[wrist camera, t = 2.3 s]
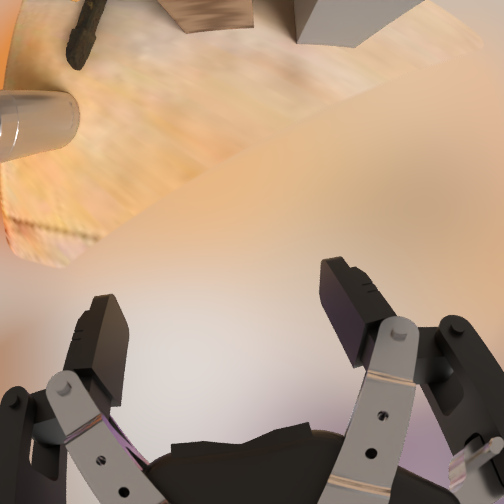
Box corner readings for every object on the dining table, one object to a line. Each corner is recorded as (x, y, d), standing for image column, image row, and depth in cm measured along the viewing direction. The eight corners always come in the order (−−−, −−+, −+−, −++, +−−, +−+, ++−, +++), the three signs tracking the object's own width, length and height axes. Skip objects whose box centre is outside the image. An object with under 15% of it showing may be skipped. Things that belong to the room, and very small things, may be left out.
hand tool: (107, -33, 27) (94, -44, 23) (128, -35, 27) (117, -46, 23) (68, 69, 34) (51, 66, 30) (88, 70, 34) (71, 67, 30)
